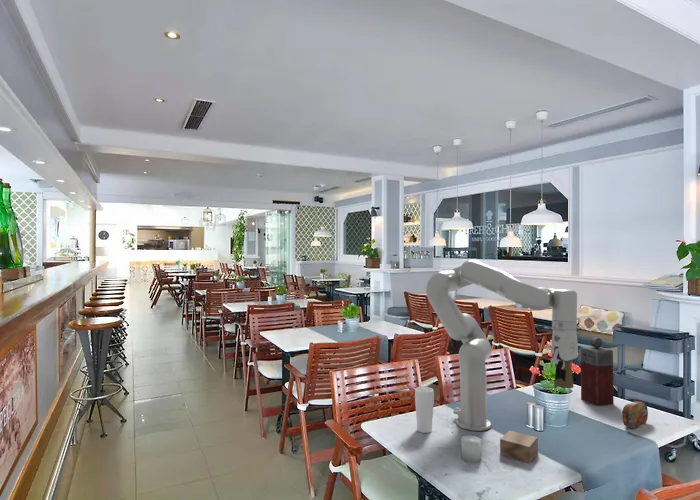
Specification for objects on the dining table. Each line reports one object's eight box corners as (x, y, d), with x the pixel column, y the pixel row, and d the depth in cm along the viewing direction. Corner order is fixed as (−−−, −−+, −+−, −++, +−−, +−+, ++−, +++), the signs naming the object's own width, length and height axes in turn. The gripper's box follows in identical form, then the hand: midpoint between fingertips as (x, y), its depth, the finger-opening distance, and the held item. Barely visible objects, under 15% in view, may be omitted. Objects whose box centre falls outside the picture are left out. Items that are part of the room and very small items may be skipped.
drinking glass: (425, 436, 152) (425, 393, 152) (411, 430, 157) (411, 388, 157) (437, 431, 156) (437, 389, 156) (423, 425, 161) (423, 385, 162)
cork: (576, 388, 143) (576, 355, 143) (557, 387, 144) (557, 354, 144) (570, 383, 149) (570, 351, 149) (551, 382, 150) (552, 350, 150)
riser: (500, 454, 137) (500, 439, 137) (509, 445, 144) (509, 430, 144) (529, 463, 132) (529, 446, 132) (537, 453, 139) (537, 437, 139)
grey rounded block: (457, 457, 135) (457, 438, 136) (469, 452, 139) (469, 434, 139) (473, 465, 131) (473, 445, 131) (485, 459, 134) (485, 440, 134)
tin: (629, 431, 157) (629, 407, 157) (620, 428, 159) (620, 405, 159) (648, 422, 165) (648, 400, 165) (639, 420, 167) (639, 398, 168)
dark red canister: (592, 396, 196) (592, 334, 197) (613, 404, 186) (613, 339, 186) (576, 397, 194) (576, 335, 194) (597, 406, 183) (596, 340, 184)
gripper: (563, 329, 139) (562, 386, 139) (586, 325, 149) (585, 378, 149) (541, 326, 145) (540, 380, 145) (564, 322, 155) (563, 373, 155)
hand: (563, 379), depth 147 cm, fingers closed on cork, 3 cm apart
